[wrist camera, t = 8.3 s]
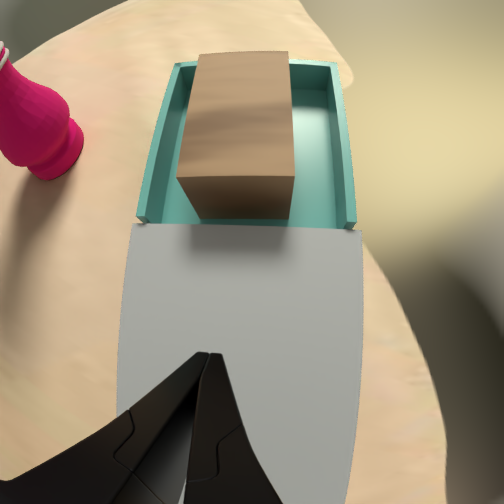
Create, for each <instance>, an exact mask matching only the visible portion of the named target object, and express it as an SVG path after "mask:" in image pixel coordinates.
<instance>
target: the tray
mask: <svg viewBox="0 0 504 504" xmlns="http://www.w3.org/2000/svg"><path fill="white" fill-rule="evenodd" d="M197 63H198V61H192V62H182V63H175V64H174V67H173V70H172V73H171V76H170V80H169V83H168V86H167V89H166V92H165V96H164V99H163V102H162V106H161V109H160V113H159V116H158V120H157V124H156V127H155V131H154V135H153V139H152V143H151V147H150V151H149V155H148V160H147V164H146V168H145V173H144V177H143V182H142V187H141V192H140V197H139V202H138V207H137V213H136V217H137V218H138V219H140V220H141V221H142V222H143V223H144V224H209V225H248V226H278V227H304V228H328V229H348V230H352V228H353V227H354V225H355V224H356V222H357V216H356V201H355V190H354V178H353V168H352V160H351V150H350V142H349V134H348V127H347V120H346V113H345V106H344V100H343V94H342V88H341V83H340V77H339V72H338V67H337V63H335V62H325V61H313V60H298V59H289V70H290V84H291V100H292V117H293V137H294V161H295V180H294V187H293V194H292V201H291V208H290V214H289V220H288V219H200V218H199V217H198V215H197V213H196V211H195V210H194V208H193V206H192V205H191V203H190V201H189V199H188V198H187V196H186V194H185V192H184V191H183V189H182V187H181V185H180V184H179V182H178V180H177V179H176V173H177V166H178V160H179V154H180V148H181V142H182V136H183V131H184V125H185V120H186V115H187V109H188V104H189V99H190V95H191V90H192V85H193V81H194V76H195V72H196V67H197Z"/></svg>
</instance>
